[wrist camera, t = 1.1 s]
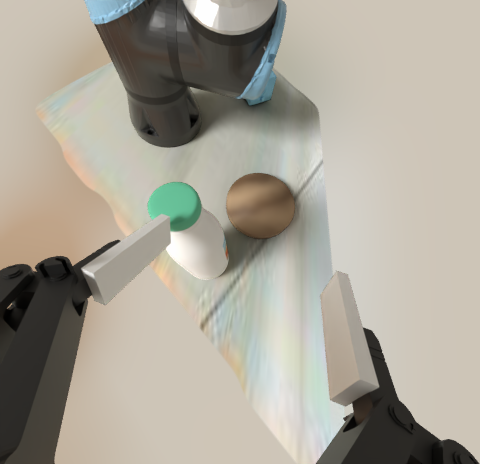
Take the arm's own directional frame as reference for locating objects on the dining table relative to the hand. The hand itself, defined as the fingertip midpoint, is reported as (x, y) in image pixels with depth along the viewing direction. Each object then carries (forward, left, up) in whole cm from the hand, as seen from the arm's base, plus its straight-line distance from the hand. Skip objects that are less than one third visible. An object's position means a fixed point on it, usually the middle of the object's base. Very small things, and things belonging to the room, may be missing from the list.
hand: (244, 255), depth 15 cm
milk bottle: (-4, -2, -21) cm, 22 cm away
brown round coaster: (-10, +12, -21) cm, 26 cm away
